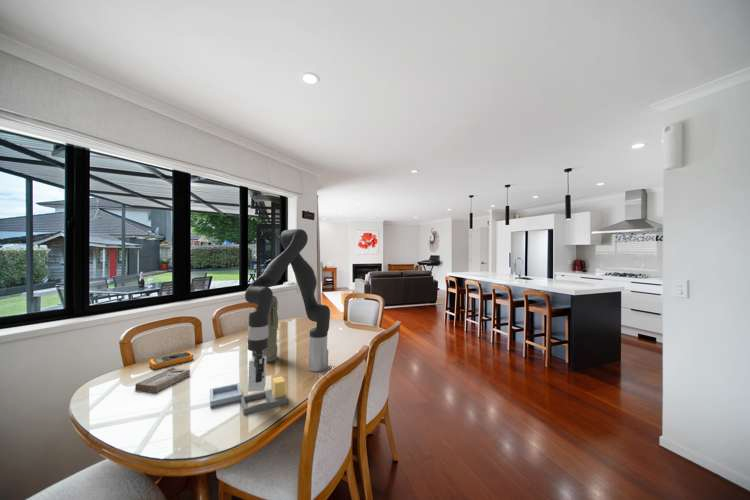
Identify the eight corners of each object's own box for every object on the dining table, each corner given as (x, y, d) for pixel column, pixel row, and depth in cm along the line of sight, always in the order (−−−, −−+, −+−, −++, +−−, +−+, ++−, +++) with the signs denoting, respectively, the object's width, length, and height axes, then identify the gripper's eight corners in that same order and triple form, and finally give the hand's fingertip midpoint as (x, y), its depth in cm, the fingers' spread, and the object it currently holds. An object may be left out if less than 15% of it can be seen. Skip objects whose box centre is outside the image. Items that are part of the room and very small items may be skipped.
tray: (239, 388, 122) (239, 382, 122) (241, 400, 113) (242, 394, 113) (209, 394, 116) (210, 388, 116) (210, 408, 107) (210, 401, 107)
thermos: (267, 364, 147) (269, 298, 147) (255, 359, 154) (257, 296, 154) (282, 359, 155) (284, 296, 155) (269, 354, 162) (271, 294, 162)
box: (134, 391, 118) (134, 383, 118) (171, 373, 135) (171, 367, 135) (155, 394, 116) (155, 386, 116) (190, 376, 133) (190, 369, 133)
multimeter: (194, 360, 151) (194, 354, 151) (152, 370, 137) (152, 363, 137) (189, 356, 156) (189, 350, 156) (148, 365, 142) (148, 359, 142)
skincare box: (247, 392, 108) (248, 361, 107) (250, 386, 112) (250, 356, 112) (264, 390, 109) (265, 360, 109) (266, 385, 113) (266, 355, 113)
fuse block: (281, 392, 120) (282, 373, 120) (287, 403, 112) (287, 383, 112) (240, 401, 112) (241, 381, 112) (243, 414, 103) (244, 393, 103)
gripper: (271, 340, 106) (271, 384, 106) (264, 330, 118) (264, 369, 118) (250, 343, 102) (249, 389, 102) (245, 332, 114) (244, 373, 115)
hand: (257, 378), depth 110 cm, fingers closed on skincare box, 5 cm apart
